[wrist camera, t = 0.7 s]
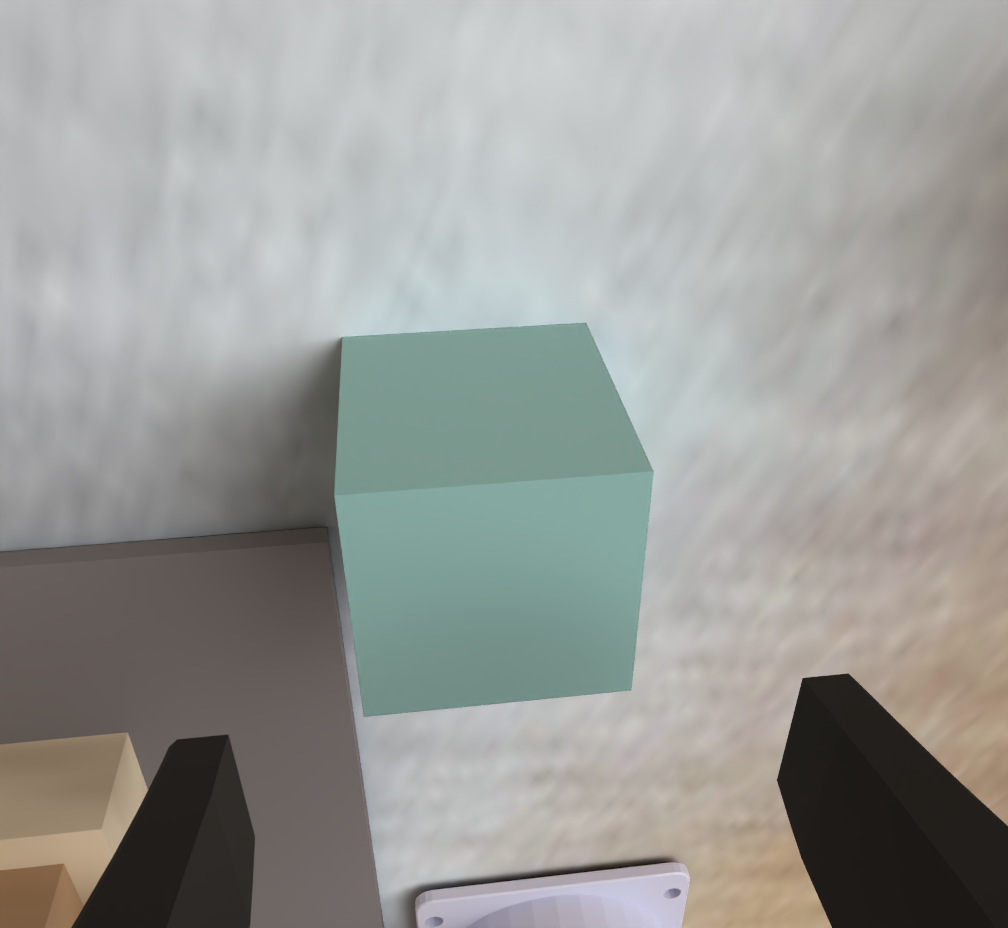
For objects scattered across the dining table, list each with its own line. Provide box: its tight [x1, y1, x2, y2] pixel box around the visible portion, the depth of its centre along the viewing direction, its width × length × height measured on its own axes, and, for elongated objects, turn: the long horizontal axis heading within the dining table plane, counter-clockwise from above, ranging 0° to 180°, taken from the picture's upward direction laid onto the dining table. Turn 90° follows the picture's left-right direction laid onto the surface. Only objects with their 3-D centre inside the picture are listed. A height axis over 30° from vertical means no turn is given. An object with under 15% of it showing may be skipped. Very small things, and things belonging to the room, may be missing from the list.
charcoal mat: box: [0, 527, 384, 928], centre depth 23 cm, size 18×18×1 cm
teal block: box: [334, 323, 654, 717], centre depth 16 cm, size 4×4×5 cm
